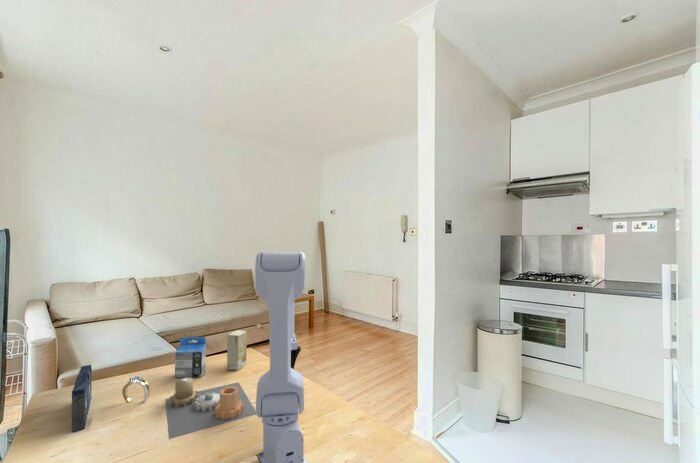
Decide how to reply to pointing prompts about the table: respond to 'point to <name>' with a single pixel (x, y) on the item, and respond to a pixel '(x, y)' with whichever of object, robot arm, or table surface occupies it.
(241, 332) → the skincare box
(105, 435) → the table surface
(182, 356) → the label tape box
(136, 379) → the ring
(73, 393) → the vhs cassette tape
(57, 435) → the table surface
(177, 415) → the carrier board
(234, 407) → the planet gear
